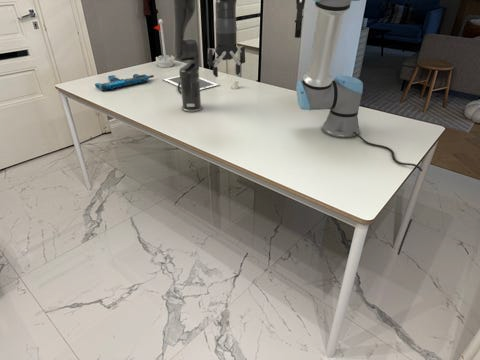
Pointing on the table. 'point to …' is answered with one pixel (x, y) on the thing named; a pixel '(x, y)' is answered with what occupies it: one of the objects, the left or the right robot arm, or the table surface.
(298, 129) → the table surface
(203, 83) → the tablet
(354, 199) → the table surface
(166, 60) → the flag stand
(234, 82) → the can
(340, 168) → the table surface
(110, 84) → the submachine gun
